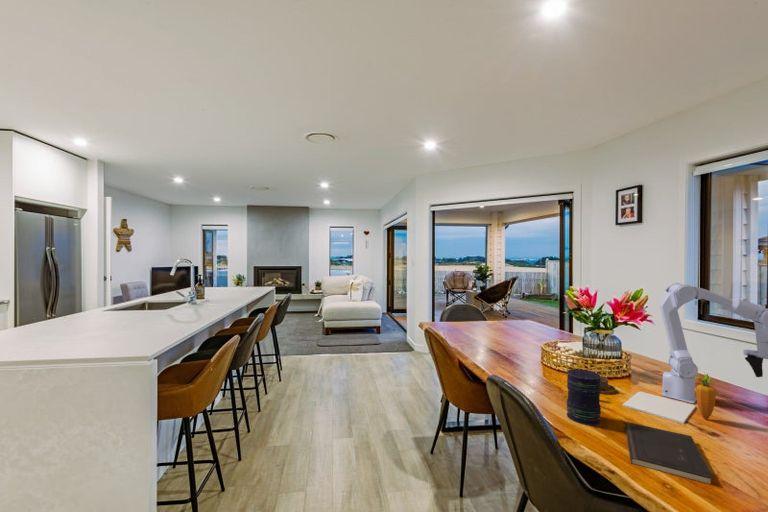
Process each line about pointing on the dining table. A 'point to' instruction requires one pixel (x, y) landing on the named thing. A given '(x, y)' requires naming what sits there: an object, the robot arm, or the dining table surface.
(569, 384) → the storage jar
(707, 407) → the carrot
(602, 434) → the dining table surface
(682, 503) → the dining table surface
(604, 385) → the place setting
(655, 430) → the hardcover book
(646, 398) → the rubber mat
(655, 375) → the dining table surface
